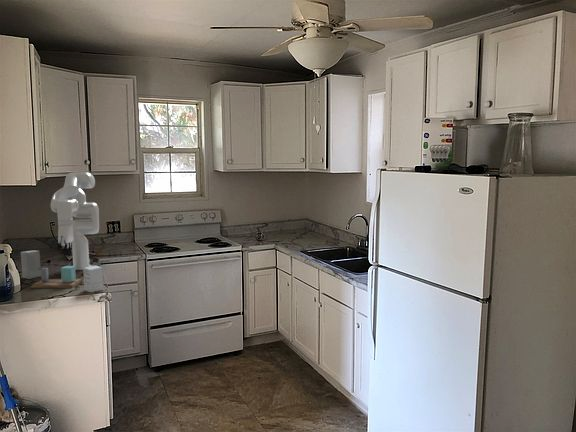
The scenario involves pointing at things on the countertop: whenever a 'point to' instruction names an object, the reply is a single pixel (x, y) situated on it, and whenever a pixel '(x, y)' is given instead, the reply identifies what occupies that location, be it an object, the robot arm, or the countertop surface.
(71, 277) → the turquoise block
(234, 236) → the countertop surface
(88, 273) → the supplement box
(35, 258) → the skincare box
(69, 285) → the walnut base board
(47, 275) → the dark steel post
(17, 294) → the countertop surface
